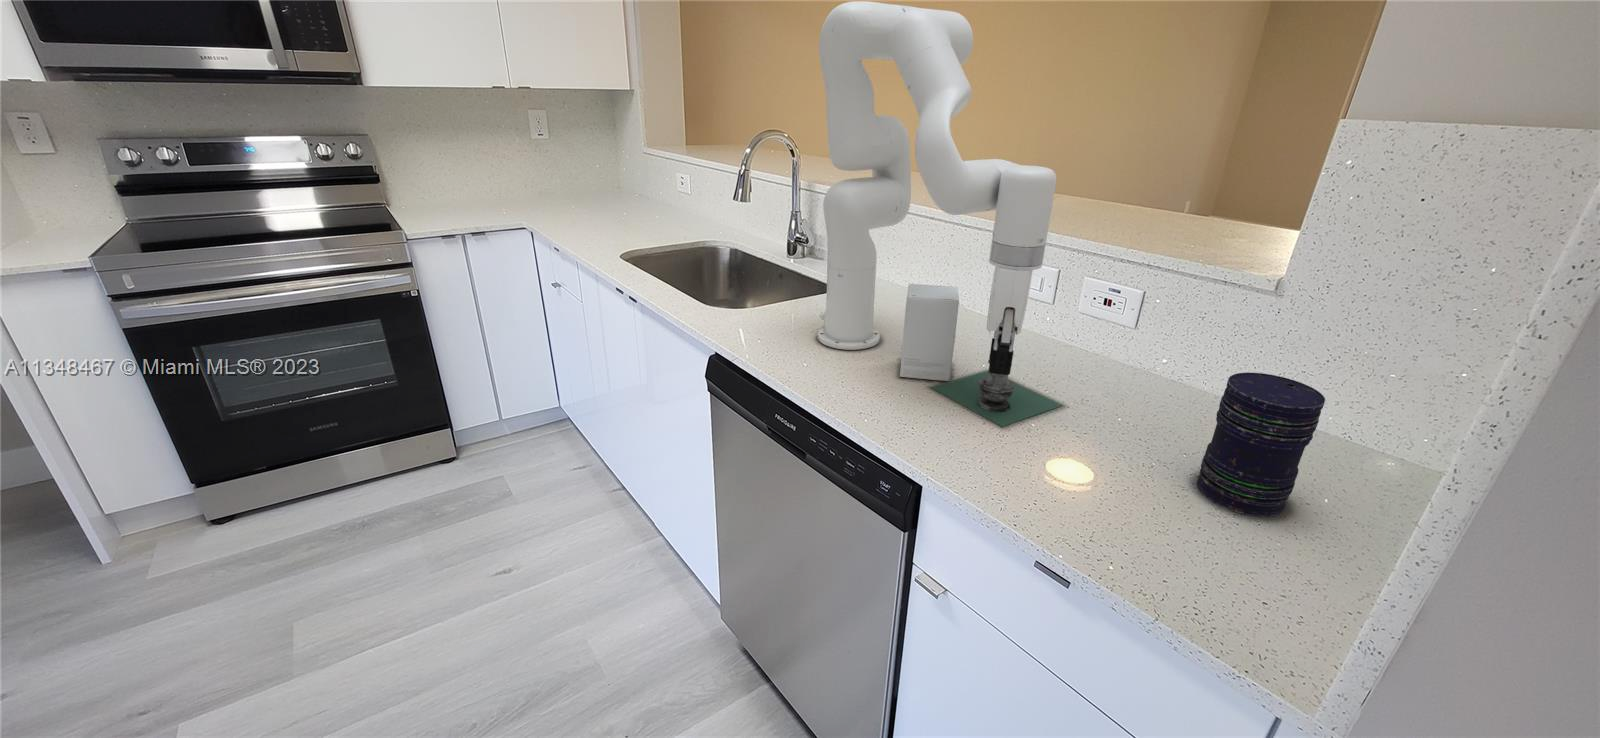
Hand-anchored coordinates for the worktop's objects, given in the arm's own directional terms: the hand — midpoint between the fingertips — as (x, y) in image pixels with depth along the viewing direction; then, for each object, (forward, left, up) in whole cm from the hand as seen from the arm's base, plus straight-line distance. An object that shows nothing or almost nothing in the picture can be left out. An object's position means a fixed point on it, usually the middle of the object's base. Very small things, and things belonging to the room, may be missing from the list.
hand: (999, 366), depth 102 cm
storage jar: (+34, +9, -7) cm, 36 cm away
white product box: (-16, 0, -7) cm, 18 cm away
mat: (-2, +3, -7) cm, 8 cm away
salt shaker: (0, 0, -7) cm, 7 cm away
